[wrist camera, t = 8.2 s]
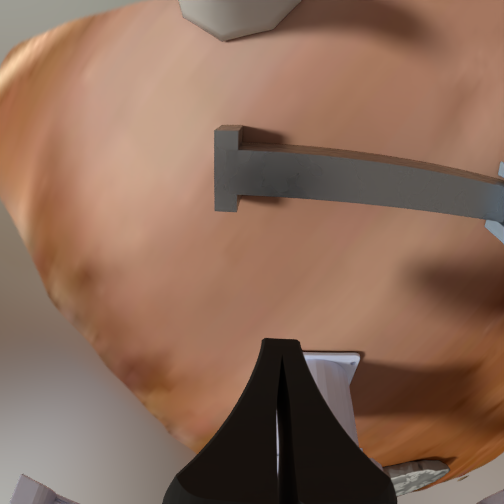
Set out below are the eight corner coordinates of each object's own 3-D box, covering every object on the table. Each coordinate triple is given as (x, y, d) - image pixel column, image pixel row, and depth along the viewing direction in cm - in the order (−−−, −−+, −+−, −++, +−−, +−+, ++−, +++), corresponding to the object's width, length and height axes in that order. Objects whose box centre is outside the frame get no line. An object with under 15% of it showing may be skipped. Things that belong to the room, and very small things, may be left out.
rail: (527, 243, 19) (564, 277, 14) (221, 215, 20) (204, 259, 15) (549, 166, 15) (593, 191, 11) (222, 103, 16) (201, 108, 12)
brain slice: (333, 492, 47) (334, 504, 44) (371, 461, 38) (373, 477, 36) (413, 483, 47) (415, 494, 44) (459, 449, 39) (463, 461, 36)
